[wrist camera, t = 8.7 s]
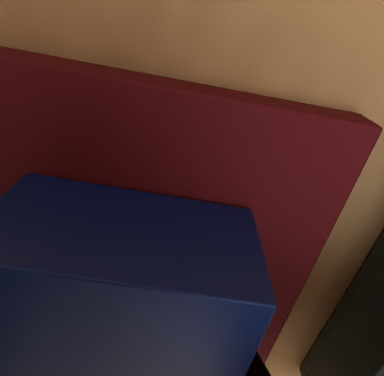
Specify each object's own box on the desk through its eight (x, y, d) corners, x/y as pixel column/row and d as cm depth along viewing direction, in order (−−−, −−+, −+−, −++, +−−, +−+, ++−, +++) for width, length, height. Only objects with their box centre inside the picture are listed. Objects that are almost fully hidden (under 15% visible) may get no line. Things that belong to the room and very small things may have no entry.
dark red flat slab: (240, 378, 14) (243, 406, 13) (5, 348, 14) (-11, 375, 13) (361, 113, 8) (385, 127, 7) (-62, 34, 7) (-104, 36, 6)
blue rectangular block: (200, 366, 12) (200, 473, 9) (45, 346, 11) (-5, 451, 9) (252, 208, 8) (279, 306, 5) (26, 171, 8) (-71, 257, 5)
